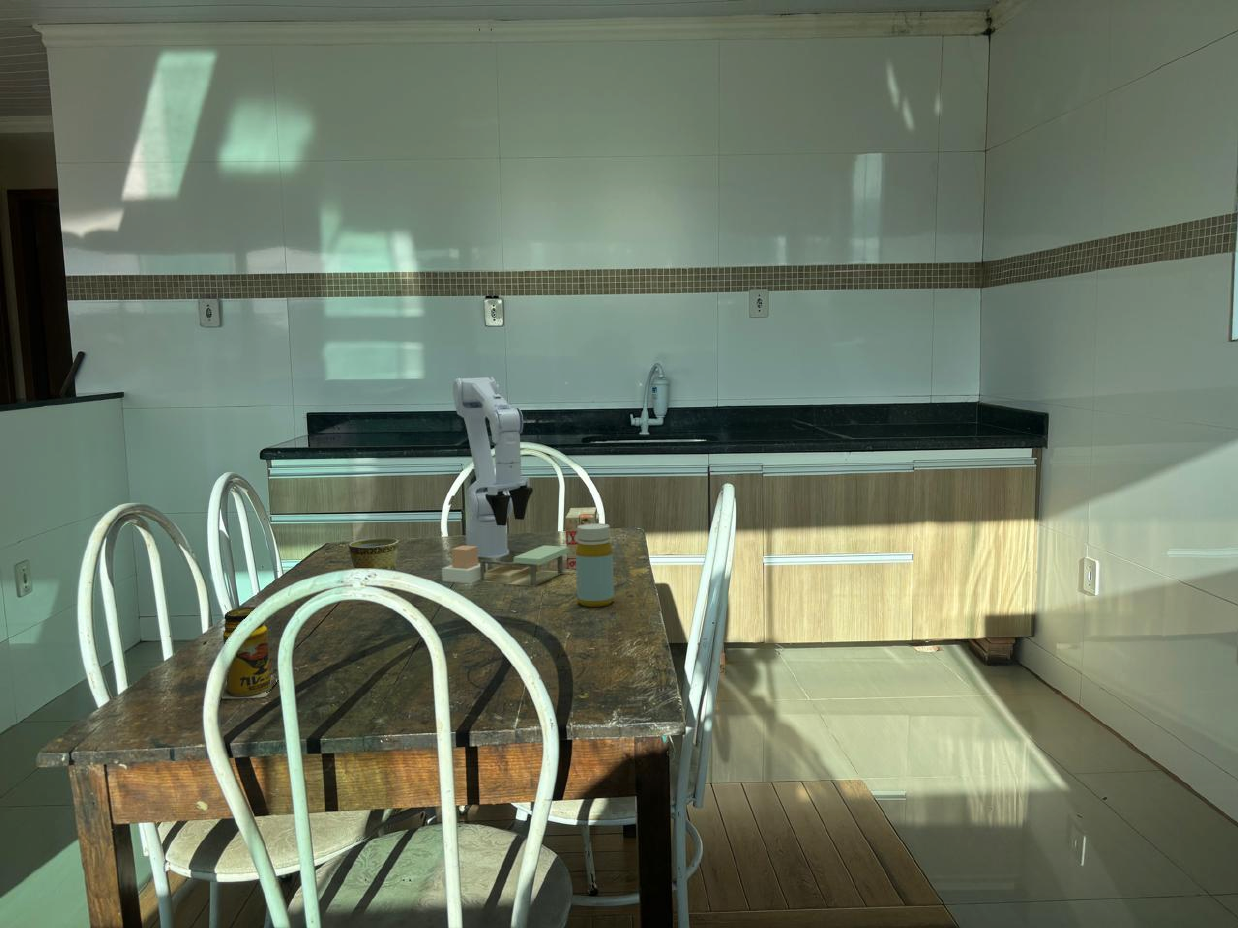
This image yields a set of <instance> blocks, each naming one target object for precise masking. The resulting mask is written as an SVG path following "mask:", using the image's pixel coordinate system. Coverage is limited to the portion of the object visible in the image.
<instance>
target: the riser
mask: <svg viewBox="0 0 1238 928" xmlns="http://www.w3.org/2000/svg"><path fill="white" fill-rule="evenodd" d="M478 564H479V565H477V566H474V567H471V568H469V569H465V568H453V567H452V564H450V565H446V566H445V567H442V568H441V575H442V576H441V577H442V580H441V581H442V582H447V583H449V582H450V583H461V584H472V583H475V582H477V581H481V570H480V562H478ZM488 567H489V564H486V571H488V570H489V568H488Z"/></svg>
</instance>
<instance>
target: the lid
mask: <svg viewBox="0 0 1238 928" xmlns="http://www.w3.org/2000/svg"><path fill="white" fill-rule="evenodd" d="M527 551H528V552H526V553H519V555H516V556H515V555H514V563H522V564H535V565H539V566H540V565H543V564H545V563H548V562H550V561H552V560H555V559H557V557H559V556H562V557H563V556H564V555H567V553H569V547H567V546H561V545H560V546H558V545H545V544H543V545H541V546H538V547H536V548H534V549H531V550H527Z"/></svg>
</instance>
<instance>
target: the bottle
mask: <svg viewBox="0 0 1238 928" xmlns="http://www.w3.org/2000/svg"><path fill="white" fill-rule="evenodd" d="M610 528H611V527H610V524H607V523H603V522H599V523H590V524H582V525H579V526H578V527H577V536H578V545H577V549H576V569H575V570H576V595H577V602H578V603H579V604H580V605H581V606H584V607H587V608H588V607H589V608H601V607H606V606H609V605H611V604H612V602H614V599H615V590H614V589H615V587H614V586H615V585H614V555H613V547H612V545H611V542H610V541H611V540H610V539H611V538H610V537H611V534H610V533H611V531H610V530H611V529H610Z"/></svg>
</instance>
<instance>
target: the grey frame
mask: <svg viewBox="0 0 1238 928" xmlns="http://www.w3.org/2000/svg"><path fill="white" fill-rule="evenodd" d="M508 550H509V554H508V559H509V560H508V561H509V562H506V561H497V560H496V561H493V560H486V559H481V560H479V563H480V570H481V579H480V582H483V583H484V582H485V583H486V582H487V583H497V584H498V583H499V584H508V585H517V586H528V587H529V586H530V587H535V586H537V585H540V584H541V583H544V582H546V581H548V580H550V579H552V578H555V577H557V576H559V575H562V574H564V573H565V572H564V569H563V567H564V565H563V562H564V561H563V555H562V556H559V557H557V558H556V559H557V571H555V570H554V571H553V570H544V569H540V565H535V564H522V563H514V557H515V554H523V553H526V552H528V551H529V550H518V549H508ZM486 564H488V565H497V566H496V567H494V568H491V569H488V571H486Z"/></svg>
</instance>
